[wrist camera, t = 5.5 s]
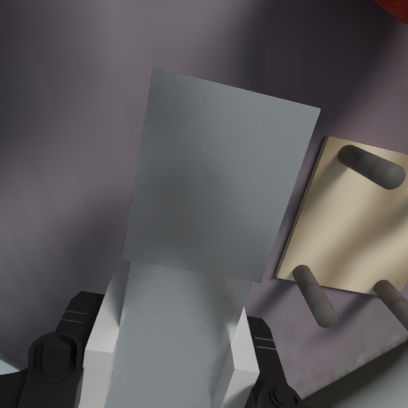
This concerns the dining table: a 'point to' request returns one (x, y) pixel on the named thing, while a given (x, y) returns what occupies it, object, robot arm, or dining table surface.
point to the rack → (351, 229)
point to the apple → (395, 8)
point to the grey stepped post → (200, 231)
